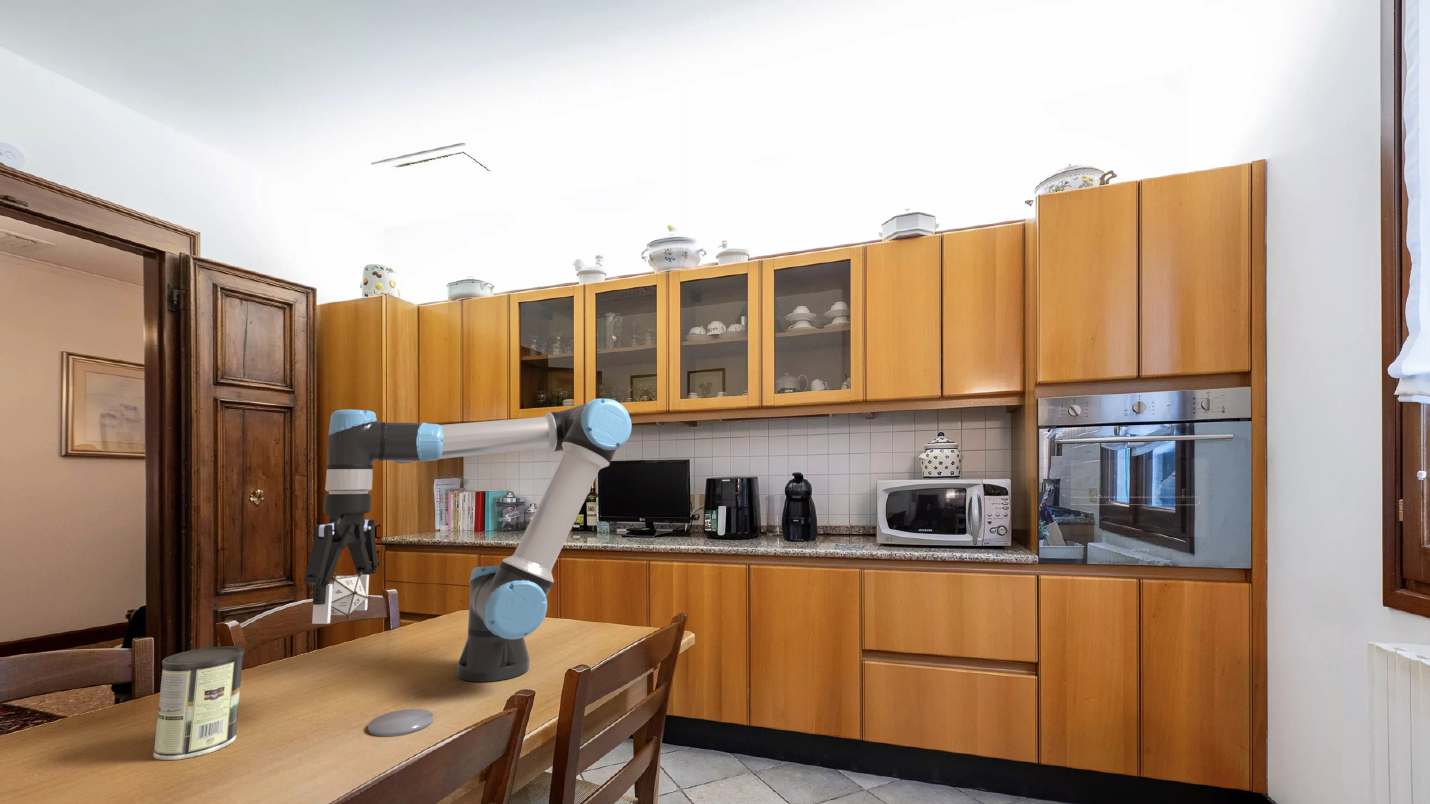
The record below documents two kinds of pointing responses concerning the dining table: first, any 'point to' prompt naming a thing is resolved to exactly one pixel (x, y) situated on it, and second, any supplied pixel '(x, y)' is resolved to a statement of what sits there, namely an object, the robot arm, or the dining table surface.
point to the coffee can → (198, 702)
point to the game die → (346, 594)
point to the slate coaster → (400, 722)
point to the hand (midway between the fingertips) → (341, 616)
